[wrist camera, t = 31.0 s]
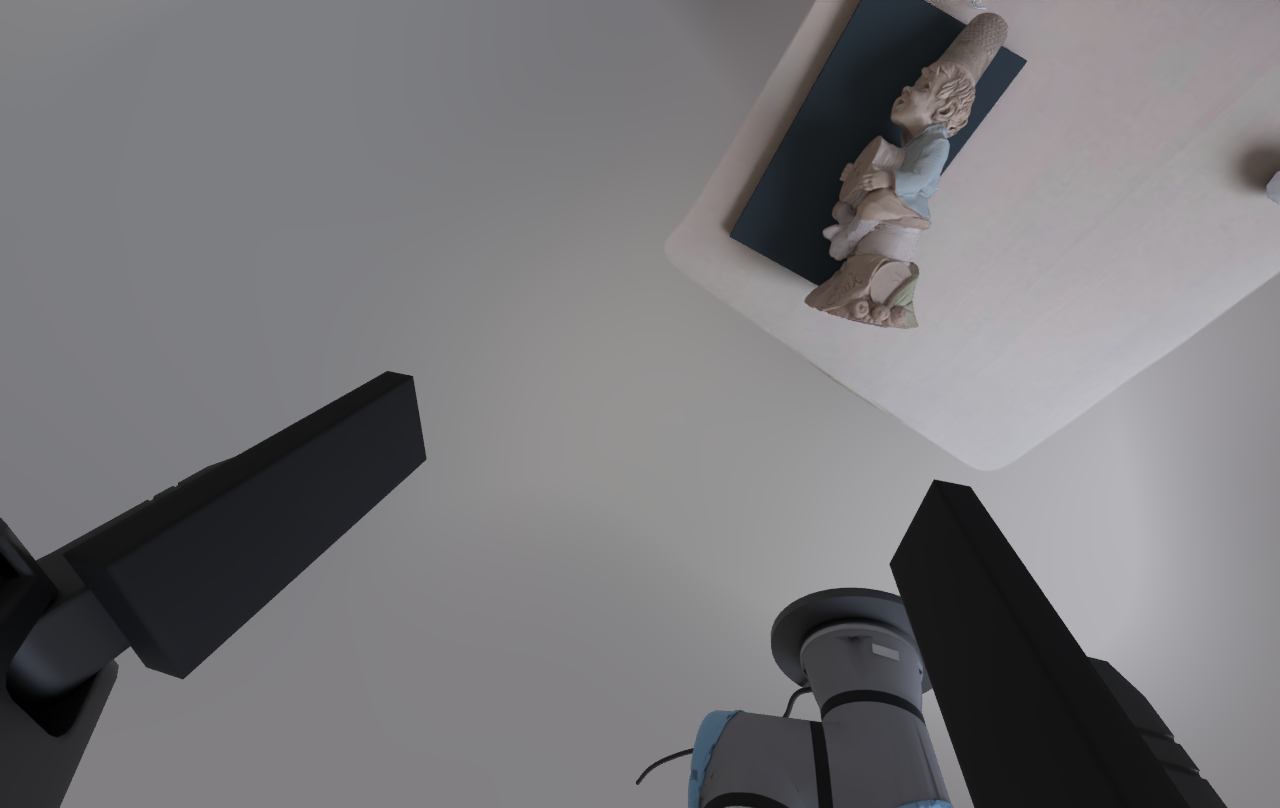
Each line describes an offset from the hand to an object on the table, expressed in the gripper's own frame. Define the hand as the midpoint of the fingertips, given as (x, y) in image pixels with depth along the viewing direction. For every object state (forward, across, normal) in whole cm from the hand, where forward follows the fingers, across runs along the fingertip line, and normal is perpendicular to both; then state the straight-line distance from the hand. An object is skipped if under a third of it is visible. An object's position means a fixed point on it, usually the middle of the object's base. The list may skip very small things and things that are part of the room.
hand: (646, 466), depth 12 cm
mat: (+35, +9, +8) cm, 37 cm away
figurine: (+30, +12, -3) cm, 32 cm away
